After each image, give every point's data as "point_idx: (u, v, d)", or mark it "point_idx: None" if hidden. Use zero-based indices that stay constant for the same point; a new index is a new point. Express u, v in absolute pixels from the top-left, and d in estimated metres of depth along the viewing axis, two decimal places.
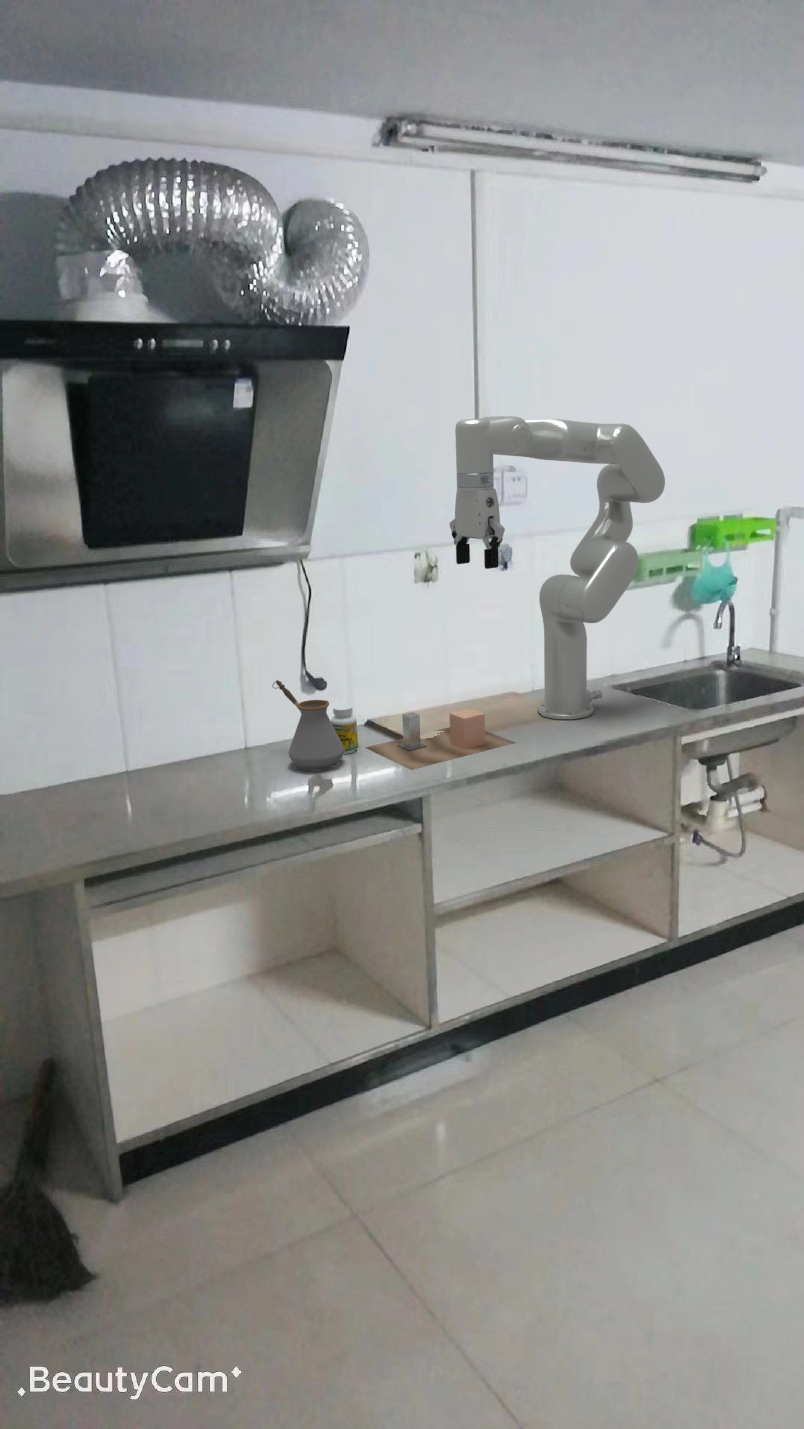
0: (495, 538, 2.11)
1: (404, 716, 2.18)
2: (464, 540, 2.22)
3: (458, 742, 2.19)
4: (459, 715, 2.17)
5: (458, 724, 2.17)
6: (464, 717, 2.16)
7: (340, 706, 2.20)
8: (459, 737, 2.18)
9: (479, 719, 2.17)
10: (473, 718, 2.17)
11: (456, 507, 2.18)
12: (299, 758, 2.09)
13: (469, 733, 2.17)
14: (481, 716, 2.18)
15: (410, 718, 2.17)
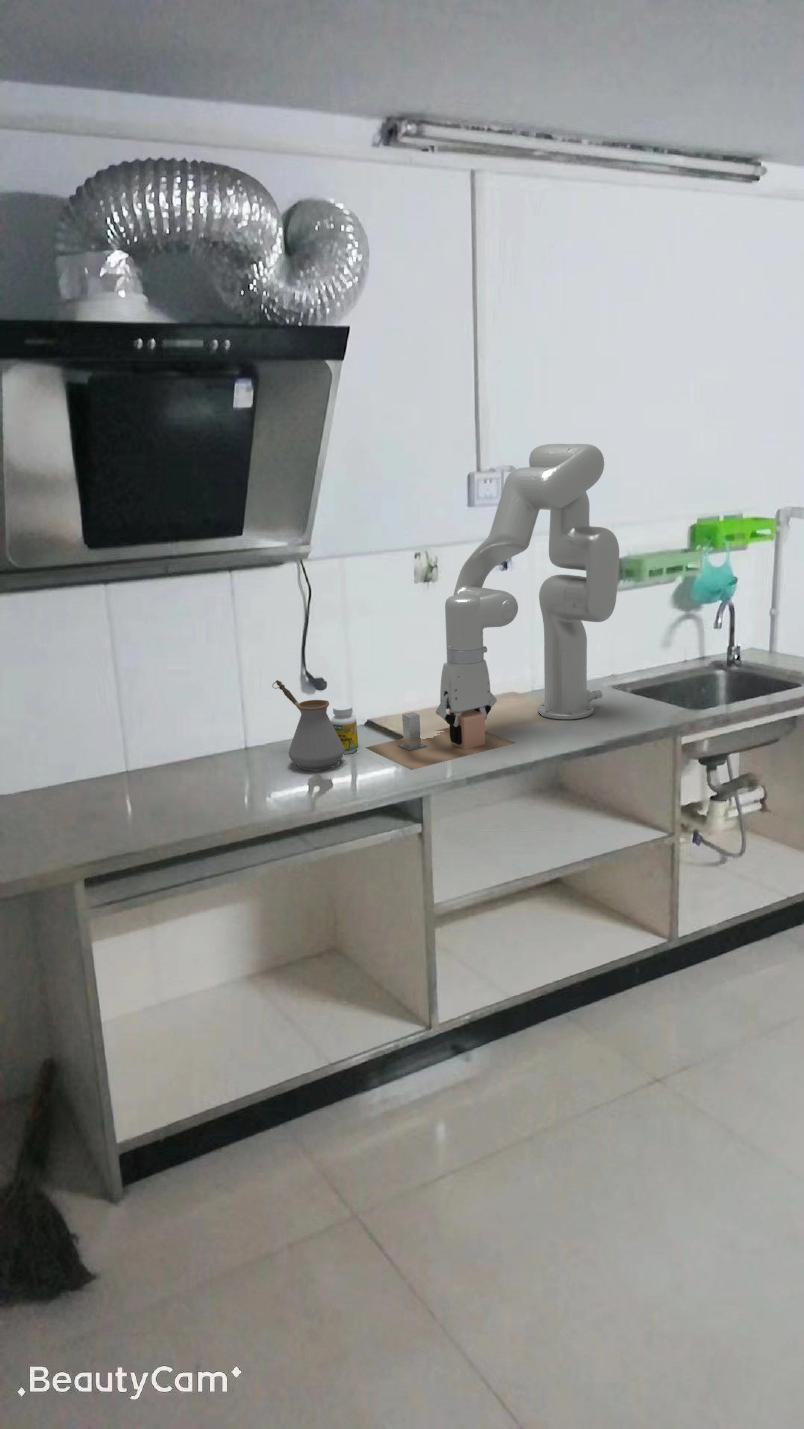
0: (490, 707, 2.21)
1: (404, 716, 2.18)
2: None
3: None
4: None
5: None
6: (464, 717, 2.16)
7: (340, 706, 2.20)
8: None
9: (479, 719, 2.17)
10: (473, 718, 2.17)
11: (457, 685, 2.13)
12: (299, 758, 2.09)
13: (469, 733, 2.17)
14: (481, 716, 2.18)
15: (410, 718, 2.17)
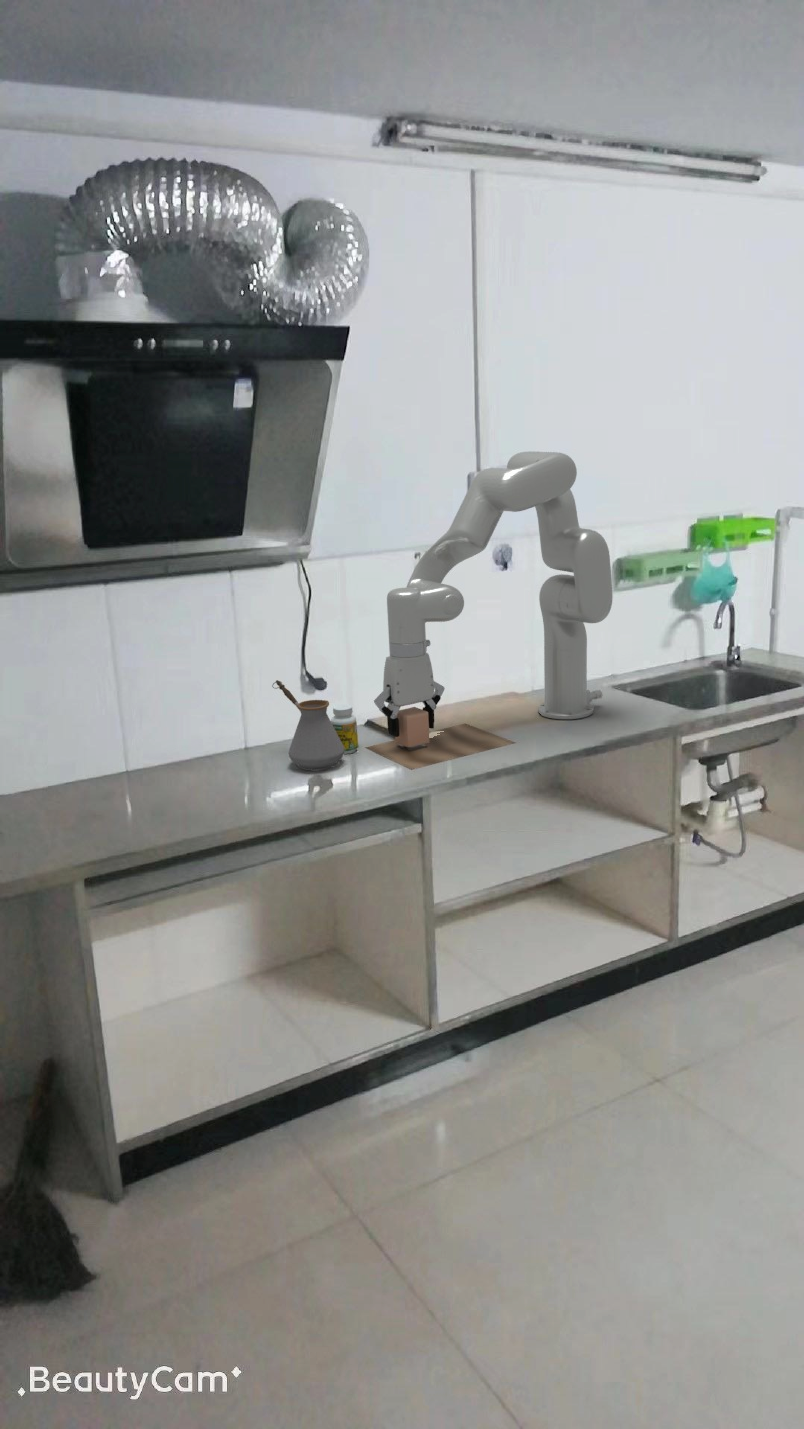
0: (439, 696, 2.20)
1: None
2: None
3: (402, 740, 2.18)
4: (403, 713, 2.17)
5: (401, 722, 2.17)
6: (407, 715, 2.16)
7: (340, 706, 2.20)
8: (403, 735, 2.18)
9: (423, 717, 2.17)
10: (416, 716, 2.16)
11: (399, 678, 2.12)
12: (299, 758, 2.09)
13: (412, 731, 2.16)
14: (425, 714, 2.17)
15: None
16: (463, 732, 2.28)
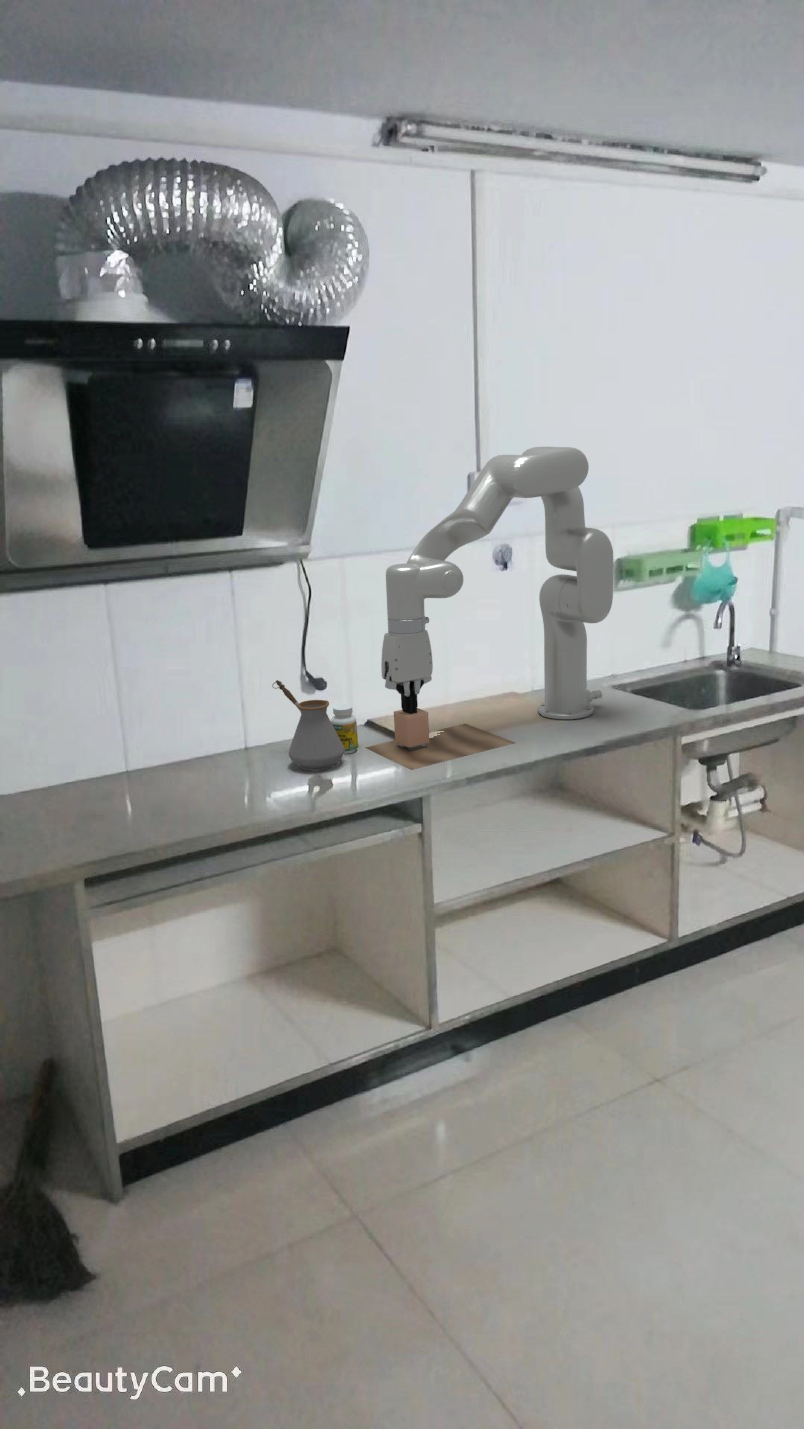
0: (423, 681, 2.17)
1: None
2: None
3: (402, 740, 2.18)
4: (403, 713, 2.17)
5: (402, 722, 2.17)
6: (407, 715, 2.16)
7: (340, 706, 2.20)
8: (403, 735, 2.18)
9: (423, 717, 2.17)
10: (416, 716, 2.16)
11: (397, 655, 2.11)
12: (299, 758, 2.09)
13: (412, 731, 2.16)
14: (425, 714, 2.17)
15: None
16: (463, 732, 2.28)
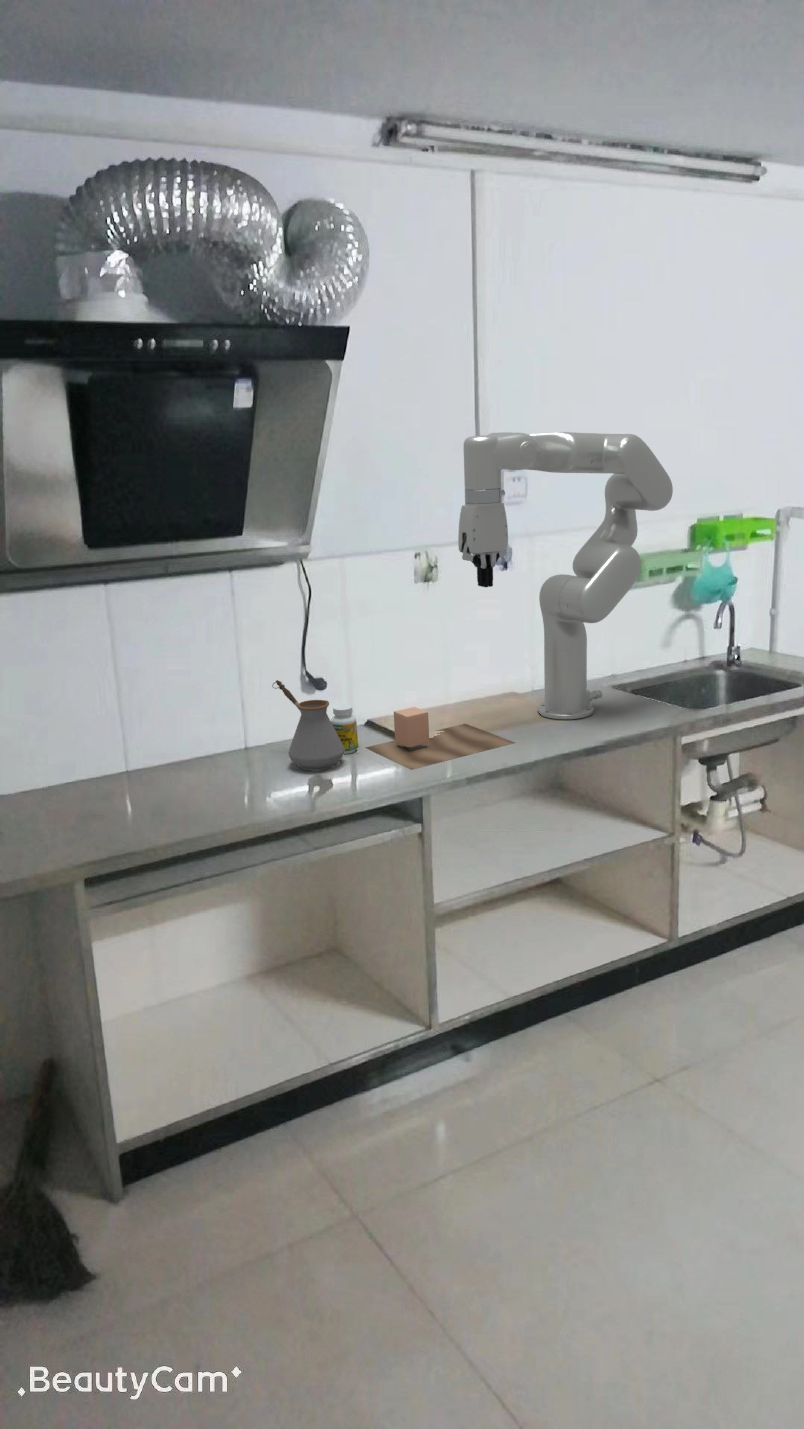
0: (498, 555, 2.21)
1: None
2: None
3: (402, 740, 2.18)
4: (403, 713, 2.17)
5: (401, 722, 2.17)
6: (407, 715, 2.16)
7: (340, 706, 2.20)
8: (403, 735, 2.18)
9: (423, 717, 2.17)
10: (416, 716, 2.16)
11: (475, 525, 2.14)
12: (299, 758, 2.09)
13: (412, 731, 2.16)
14: (425, 714, 2.17)
15: None
16: (463, 732, 2.28)
